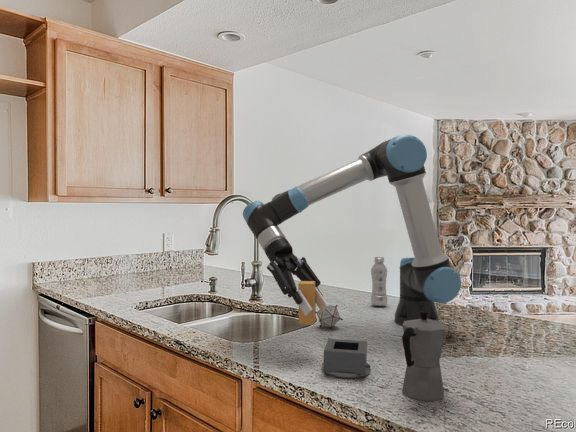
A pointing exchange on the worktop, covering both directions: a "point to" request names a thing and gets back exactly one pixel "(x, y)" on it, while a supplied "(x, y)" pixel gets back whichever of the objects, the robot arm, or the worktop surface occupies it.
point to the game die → (329, 316)
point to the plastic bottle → (379, 283)
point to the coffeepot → (423, 358)
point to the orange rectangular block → (309, 294)
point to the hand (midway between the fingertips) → (317, 310)
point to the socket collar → (346, 359)
